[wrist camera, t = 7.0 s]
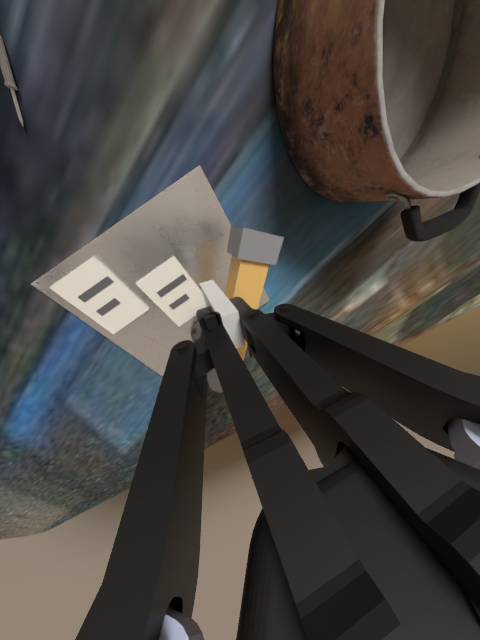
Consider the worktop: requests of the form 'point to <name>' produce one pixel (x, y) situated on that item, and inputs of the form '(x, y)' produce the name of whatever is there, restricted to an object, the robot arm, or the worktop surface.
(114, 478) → the worktop surface
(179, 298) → the label
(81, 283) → the label
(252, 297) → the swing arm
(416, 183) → the cooking pot
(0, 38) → the multimeter
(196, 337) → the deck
